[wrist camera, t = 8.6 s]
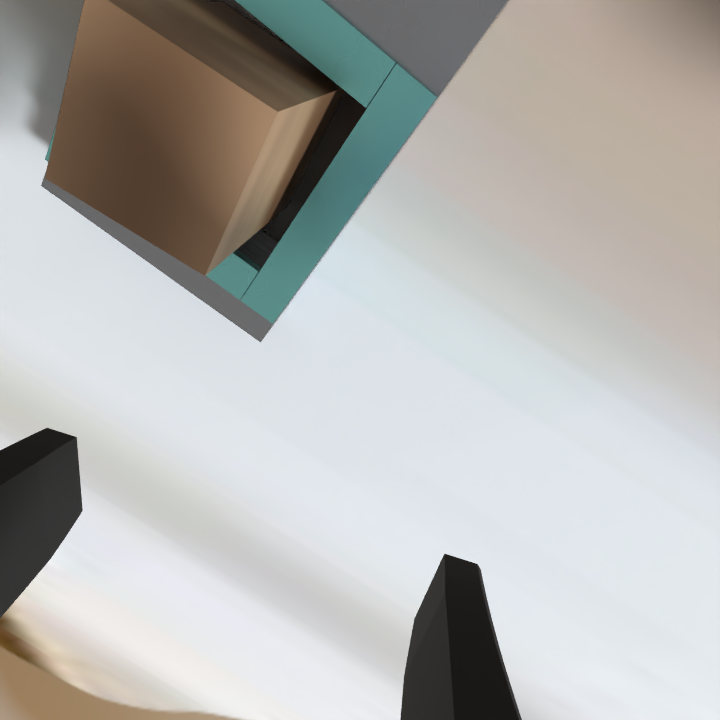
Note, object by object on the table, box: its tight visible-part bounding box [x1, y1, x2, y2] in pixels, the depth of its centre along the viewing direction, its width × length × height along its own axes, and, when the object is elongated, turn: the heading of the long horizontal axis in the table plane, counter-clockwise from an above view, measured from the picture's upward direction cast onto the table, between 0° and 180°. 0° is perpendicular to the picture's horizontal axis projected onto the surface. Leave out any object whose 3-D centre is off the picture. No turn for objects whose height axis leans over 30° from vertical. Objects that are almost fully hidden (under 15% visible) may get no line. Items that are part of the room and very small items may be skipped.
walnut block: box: [45, 0, 345, 276], centre depth 14 cm, size 4×4×6 cm
